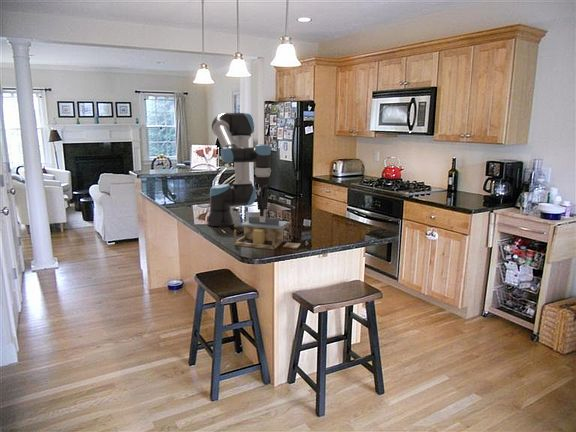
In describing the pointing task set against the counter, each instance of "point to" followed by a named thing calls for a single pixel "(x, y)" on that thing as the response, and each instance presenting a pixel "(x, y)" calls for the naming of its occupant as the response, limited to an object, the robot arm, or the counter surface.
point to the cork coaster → (292, 245)
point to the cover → (268, 224)
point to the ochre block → (259, 236)
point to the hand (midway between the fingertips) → (262, 221)
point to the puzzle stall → (270, 235)
